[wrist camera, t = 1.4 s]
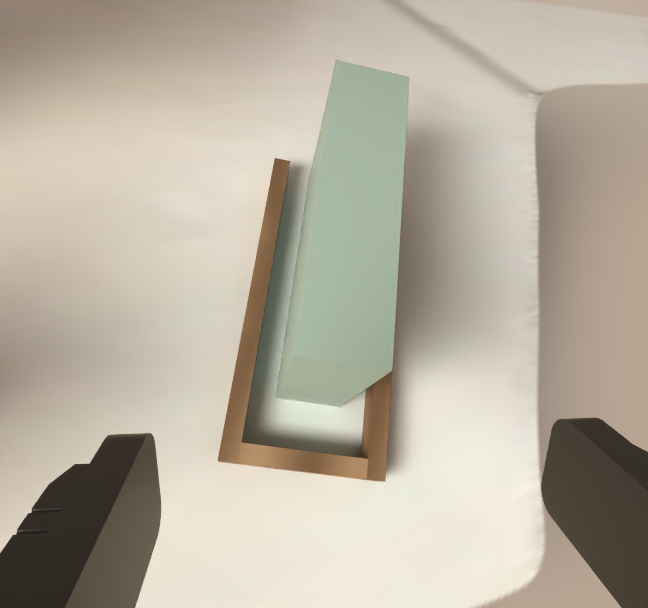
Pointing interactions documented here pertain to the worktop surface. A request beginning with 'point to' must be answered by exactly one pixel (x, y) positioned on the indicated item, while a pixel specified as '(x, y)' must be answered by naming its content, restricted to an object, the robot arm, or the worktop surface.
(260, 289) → the open frame
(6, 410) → the worktop surface
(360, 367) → the pale green rectangular block
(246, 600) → the worktop surface
